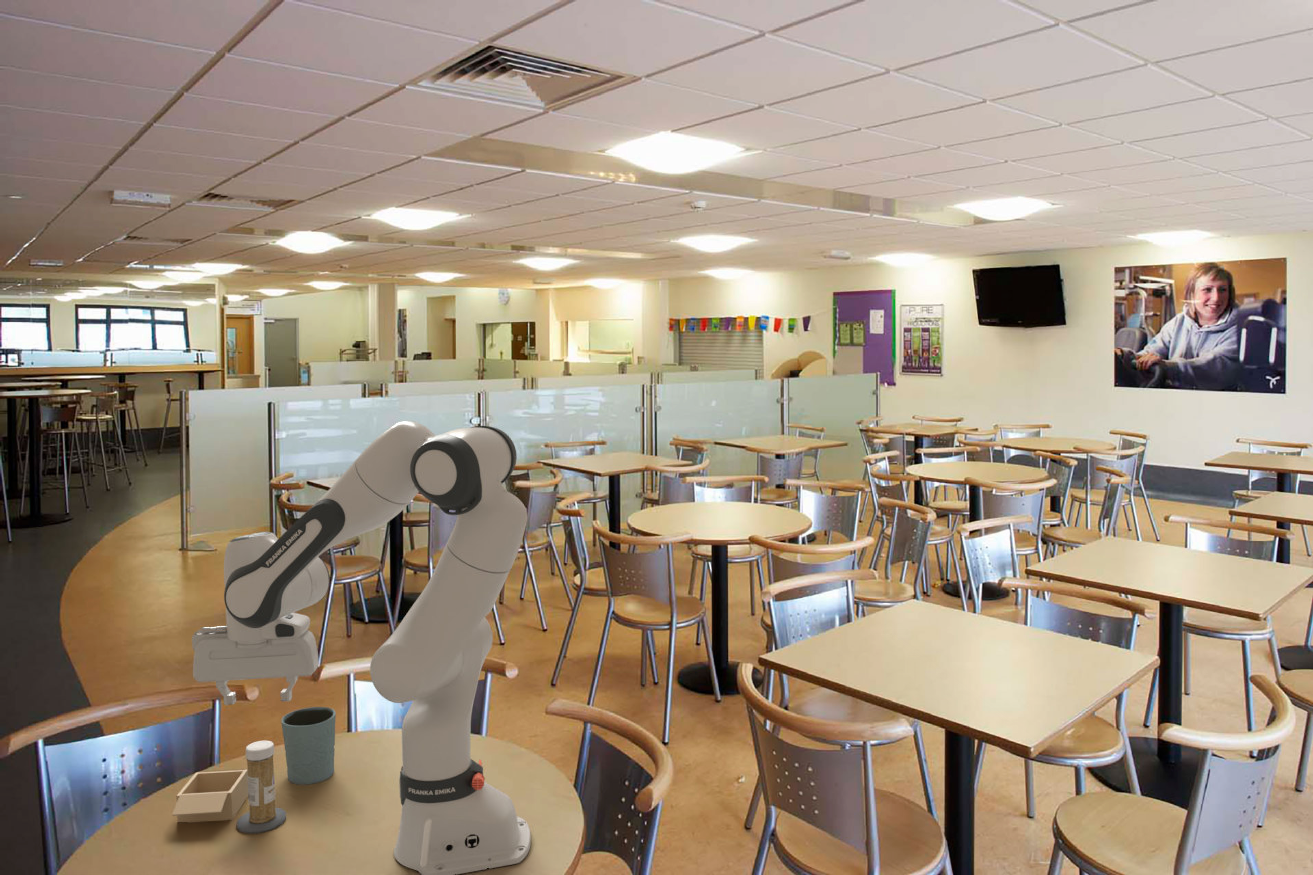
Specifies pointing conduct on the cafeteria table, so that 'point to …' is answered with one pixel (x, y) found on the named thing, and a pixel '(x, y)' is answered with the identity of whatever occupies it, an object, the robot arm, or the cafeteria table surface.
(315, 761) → the teal cup
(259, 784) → the sprinkles bottle
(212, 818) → the carton
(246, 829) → the coaster
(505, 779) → the cafeteria table surface
